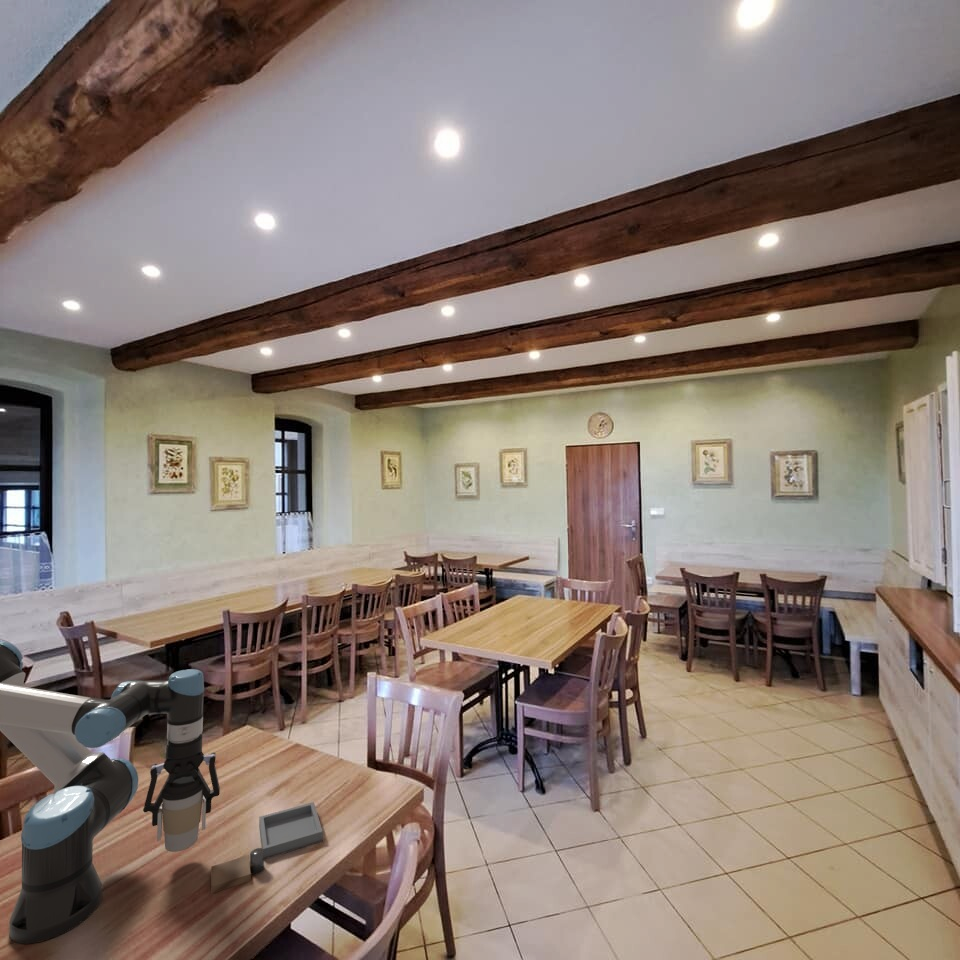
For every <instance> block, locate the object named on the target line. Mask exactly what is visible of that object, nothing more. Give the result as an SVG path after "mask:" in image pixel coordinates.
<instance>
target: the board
mask: <svg viewBox="0 0 960 960" xmlns="http://www.w3.org/2000/svg"><path fill="white" fill-rule="evenodd" d="M210 870H211V871H210V872H211V873H210V874H211V875H210V876H211V877H210V882H211V883H210V885H211V886H210V892H211V893H210V894H214V893H217V892H220V891H223V890H227V889H230V888H232V887H236V886H238V885H242V884H244V883H248V882H250V881H251V880H252V877H251V875H252V874H251V872H250V854H247V855H243V856H241V857H238V858H234V859H231V860H229V861H228V860H227V861H224V862H222V863H218V864H215V865H212V866H211V867H210Z"/></svg>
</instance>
